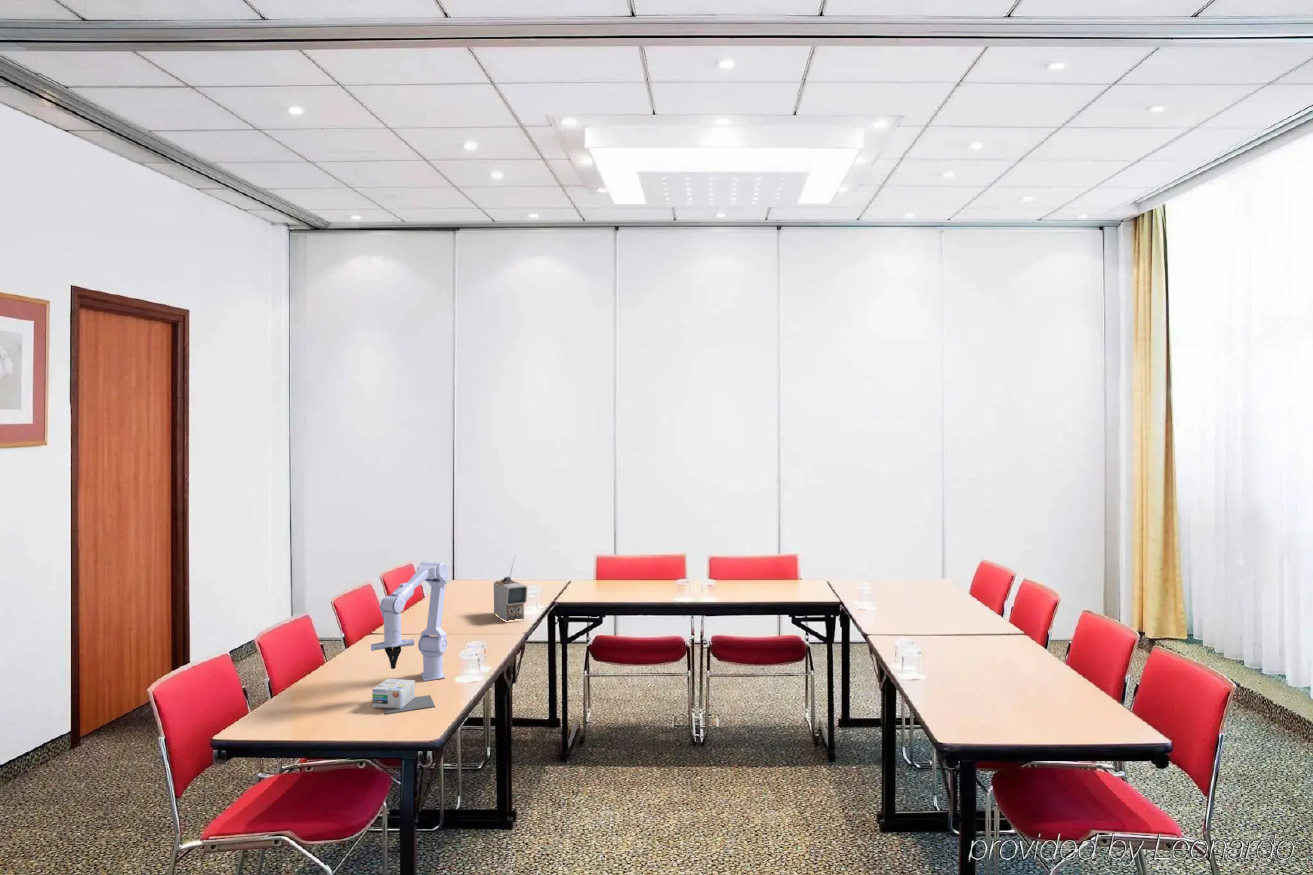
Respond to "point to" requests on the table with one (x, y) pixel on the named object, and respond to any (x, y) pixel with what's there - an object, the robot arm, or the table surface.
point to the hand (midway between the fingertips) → (393, 668)
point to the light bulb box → (393, 693)
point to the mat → (413, 705)
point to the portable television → (509, 598)
